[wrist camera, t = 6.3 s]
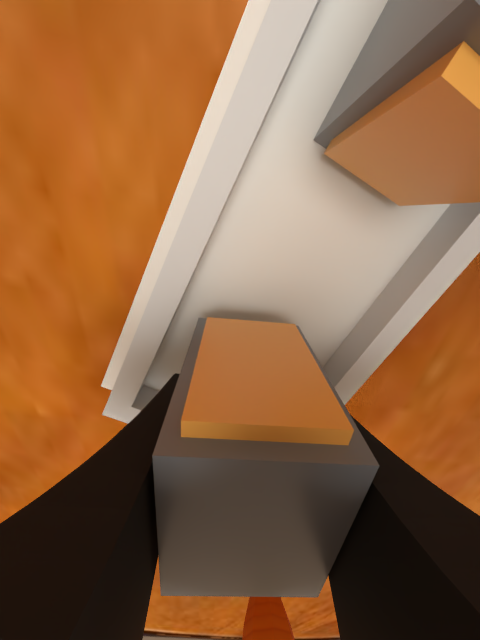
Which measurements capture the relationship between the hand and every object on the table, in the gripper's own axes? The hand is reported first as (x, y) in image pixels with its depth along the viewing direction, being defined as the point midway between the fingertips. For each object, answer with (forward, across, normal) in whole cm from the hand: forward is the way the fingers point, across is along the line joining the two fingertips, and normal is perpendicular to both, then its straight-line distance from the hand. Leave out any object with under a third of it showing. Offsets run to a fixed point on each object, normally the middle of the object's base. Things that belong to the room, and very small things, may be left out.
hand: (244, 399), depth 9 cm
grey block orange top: (+2, 0, 0) cm, 2 cm away
